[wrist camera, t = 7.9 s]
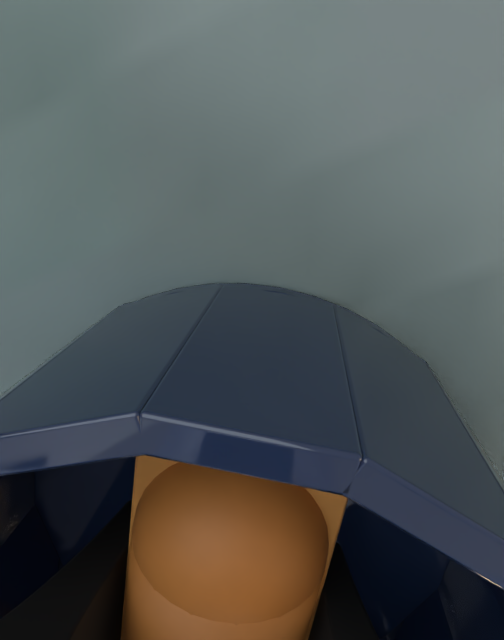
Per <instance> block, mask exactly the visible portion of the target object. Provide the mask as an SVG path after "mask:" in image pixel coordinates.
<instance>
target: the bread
mask: <svg viewBox="0 0 504 640" xmlns="http://www.w3.org/2000/svg"><path fill="white" fill-rule="evenodd" d="M347 502H348V498H346V497H344V496H343V495H338V494H333V493H328V492H323V491H318V490H314V489H309V488H304V487H299V486H294V485H289V484H284V483H279V482H274V481H269V480H264V479H259V478H254V477H249V476H245V475H240V474H235V473H230V472H225V471H220V470H215V469H210V468H205V467H200V466H195V465H190V464H185V463H181V462H176V461H171V460H166V459H161V458H156V457H151V456H146V455H143V456H137V457H136V460H135V471H134V483H133V495H132V507H131V519H130V531H129V543H128V555H127V567H126V579H125V591H124V603H123V615H122V627H121V638H120V640H308V638H309V635H310V631H311V628H312V624H313V621H314V617H315V614H316V610H317V606H318V603H319V599H320V596H321V592H322V589H323V586H324V583H325V579H326V576H327V572H328V569H329V565H330V562H331V558H332V555H333V551H334V548H335V544H336V541H337V537H338V533H339V530H340V526H341V523H342V519H343V516H344V512H345V509H346V505H347Z"/></svg>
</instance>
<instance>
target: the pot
mask: <svg viewBox="0 0 504 640" xmlns="http://www.w3.org/2000/svg"><path fill="white" fill-rule="evenodd" d="M143 455H146V456H151V457H156V458H161V459H166V460H171V461H176V462H181V463H185V464H190V465H195V466H200V467H205V468H210V469H215V470H220V471H225V472H230V473H235V474H240V475H245V476H249V477H254V478H259V479H264V480H269V481H274V482H279V483H284V484H289V485H294V486H299V487H304V488H309V489H314V490H318V491H323V492H328V493H333V494H338V495H343V496H344V497H346V498H348V502H347V505H346V509H345V512H344V516H343V519H342V523H341V526H340V530H339V533H338V537H337V541H336V542H337V543H339V544H340V546H341V547H342V551H343V553H344V556H345V559H346V562H347V565H348V567H349V570H350V573H351V575H352V578H353V580H354V583H355V585H356V588H357V590H358V593H359V595H360V598H361V600H362V602H363V605H364V607H365V609H366V611H367V613H368V616H369V618H370V620H371V622H372V624H373V627H374V629H375V631H376V633H377V635H378V637H379V639H380V640H504V481H503V480H502V478H501V476H500V475H499V473H498V471H497V470H496V468H495V467H494V465H493V463H492V462H491V460H490V459H489V457H488V455H487V454H486V452H485V450H484V449H483V447H482V446H481V444H480V442H479V441H478V439H477V438H476V436H475V435H474V433H473V432H472V430H471V429H470V427H469V426H468V424H467V423H466V421H465V420H464V418H463V417H462V415H461V414H460V412H459V411H458V409H457V408H456V406H455V404H454V403H453V401H452V400H451V398H450V397H449V395H448V393H447V392H446V391H445V389H444V388H443V386H442V385H441V383H440V382H439V380H438V379H437V377H436V376H435V374H434V373H433V371H432V370H431V368H430V367H429V365H428V364H427V362H425V361H424V360H423V359H421V358H420V357H418V356H417V355H415V354H414V353H412V352H411V351H410V350H409V349H408V348H407V347H406V346H405V345H404V344H402V343H401V342H399V341H398V340H397V339H395V338H394V337H393V336H391V335H390V334H388V333H387V332H386V331H384V330H383V329H382V328H380V327H379V326H378V325H376V324H374V323H372V322H370V321H368V320H367V319H365V318H363V317H361V316H359V315H357V314H356V313H354V312H352V311H350V310H348V309H346V308H344V307H341V306H339V305H336V304H333V303H331V302H328V301H326V300H323V299H321V298H318V297H315V296H312V295H308V294H304V293H300V292H296V291H292V290H288V289H284V288H280V287H272V286H264V285H255V284H247V283H224V284H204V285H197V286H190V287H183V288H176V289H173V290H169V291H166V292H162V293H159V294H155V295H152V296H148V297H145V298H143V299H141V300H138V301H135V302H130V303H125V304H123V305H122V306H118V307H117V308H116V309H114V310H113V311H112V312H110V313H109V314H108V315H106V316H105V317H104V318H102V319H101V320H99V321H98V322H97V323H95V324H94V325H92V326H91V327H90V328H88V329H87V330H86V331H85V332H83V333H82V334H81V335H79V336H78V337H76V338H75V339H74V340H72V341H71V342H70V343H68V344H67V345H66V346H64V347H63V348H62V349H60V350H59V351H58V352H56V353H55V354H53V355H52V356H51V357H49V358H48V359H47V360H46V361H44V362H43V363H42V364H40V365H39V366H38V367H36V368H35V369H34V370H33V371H31V372H30V373H29V374H27V375H26V376H25V377H24V378H22V379H21V380H20V381H18V382H17V383H16V384H14V385H13V386H12V387H11V388H9V389H8V390H7V391H5V392H4V393H3V394H1V395H0V619H1V618H2V617H3V616H5V615H6V614H7V613H9V612H10V611H11V610H13V609H14V608H15V607H16V606H18V605H19V604H20V603H22V602H23V601H24V600H25V599H26V598H28V597H29V596H30V595H31V594H33V593H34V592H35V591H36V590H37V589H39V588H40V587H41V586H42V585H43V584H44V583H45V582H47V581H48V580H49V579H50V578H51V577H52V576H53V575H55V574H56V573H57V572H58V571H59V570H60V569H61V568H63V567H64V566H65V565H66V564H67V563H68V562H69V561H70V560H71V559H72V558H73V557H74V556H75V555H77V554H78V553H79V552H80V551H81V550H82V549H83V548H84V547H85V546H86V545H87V544H88V543H89V542H90V541H91V540H92V539H93V538H94V537H95V536H96V535H97V534H98V533H99V532H100V531H101V530H102V529H103V528H104V527H105V526H106V525H107V524H108V523H109V521H110V520H111V519H112V518H113V517H114V516H115V515H116V514H117V513H118V512H119V511H120V509H121V508H122V507H123V506H124V505H125V504H126V503H127V502H128V501H130V500H132V495H133V483H134V471H135V460H136V457H137V456H143ZM120 638H121V636H120ZM119 640H120V639H119Z"/></svg>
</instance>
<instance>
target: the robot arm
mask: <svg viewBox="0 0 504 640" xmlns="http://www.w3.org/2000/svg"><path fill="white" fill-rule="evenodd" d="M131 507H132V500H130V501H128V502H127V503H126V504H125V505H124V506H123V507H122V508H121V509H120V511H119V512H118V513H117V514H116V515H115V516H114V517H113V518H112V519H111V520H110V521H109V523H108V524H107V525H106V526H105V527H104V528H103V529H102V530H101V531H100V532H99V533H98V534H97V535H96V536H95V537H94V538H93V539H92V540H91V541H90V542H89V543H88V544H87V545H86V546H85V547H84V548H83V549H82V550H81V551H80V552H79V553H78V554H77V555H75V556H74V557H73V558H72V559H71V560H70V561H69V562H68V563H67V564H66V565H65V566H64V567H63V568H61V569H60V570H59V571H58V572H57V573H56V574H55V575H53V576H52V577H51V578H50V579H49V580H48V581H47V582H45V583H44V584H43V585H42V586H41V587H40V588H39V589H37V590H36V591H35V592H34V593H33V594H31V595H30V596H29V597H28V598H26V599H25V600H24V601H23V602H22V603H20V604H19V605H18V606H16V607H15V608H14V609H13V610H11V611H10V612H9V613H7V614H6V615H5V616H3V617H2V618H1V619H0V640H119V639H120V636H121V627H122V615H123V603H124V591H125V579H126V567H127V555H128V543H129V531H130V519H131ZM308 640H380V639H379V637H378V635H377V633H376V631H375V629H374V627H373V624H372V622H371V620H370V618H369V616H368V613H367V611H366V609H365V607H364V605H363V602H362V600H361V598H360V595H359V593H358V590H357V588H356V585H355V583H354V580H353V578H352V575H351V573H350V570H349V567H348V565H347V562H346V559H345V556H344V553H343V551H342V547H341V546H340V544H339V543H337V542H336V544H335V548H334V551H333V555H332V558H331V562H330V565H329V569H328V572H327V576H326V579H325V583H324V586H323V589H322V592H321V596H320V599H319V603H318V606H317V610H316V614H315V617H314V621H313V624H312V628H311V631H310V635H309V638H308Z"/></svg>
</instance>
